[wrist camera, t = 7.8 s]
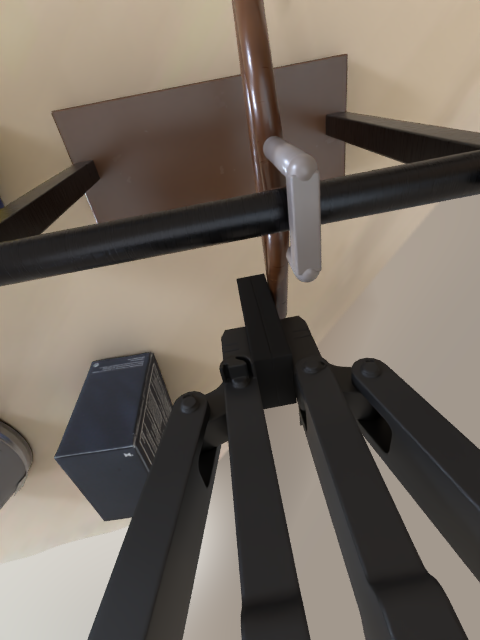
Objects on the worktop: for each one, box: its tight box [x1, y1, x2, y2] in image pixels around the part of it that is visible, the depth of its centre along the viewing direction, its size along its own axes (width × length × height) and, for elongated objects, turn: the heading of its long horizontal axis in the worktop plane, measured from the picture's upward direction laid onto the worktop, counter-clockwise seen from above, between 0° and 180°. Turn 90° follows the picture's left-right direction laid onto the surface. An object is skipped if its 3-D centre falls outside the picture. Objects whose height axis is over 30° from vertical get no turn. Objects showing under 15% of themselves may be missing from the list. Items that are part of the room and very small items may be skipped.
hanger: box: [232, 0, 322, 319], centre depth 11 cm, size 1×15×7 cm, turn 10°
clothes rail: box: [0, 54, 480, 286], centre depth 15 cm, size 18×7×18 cm, turn 99°
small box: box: [54, 352, 173, 521], centre depth 31 cm, size 11×6×10 cm, turn 7°
